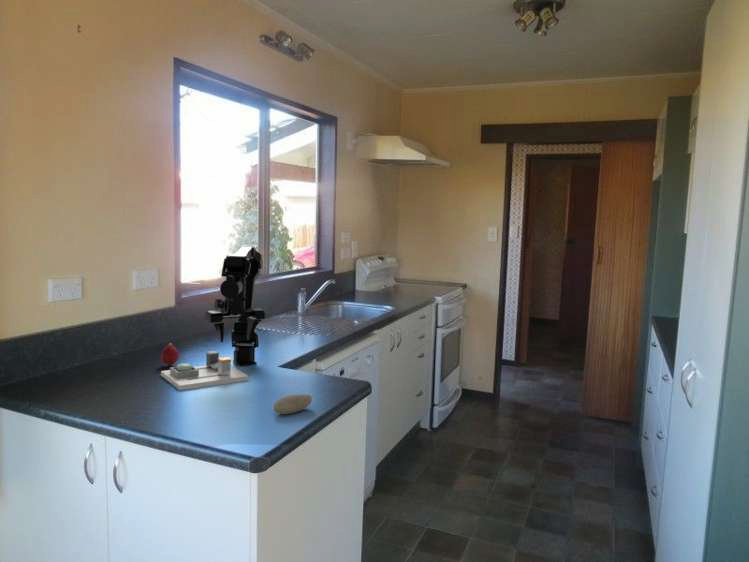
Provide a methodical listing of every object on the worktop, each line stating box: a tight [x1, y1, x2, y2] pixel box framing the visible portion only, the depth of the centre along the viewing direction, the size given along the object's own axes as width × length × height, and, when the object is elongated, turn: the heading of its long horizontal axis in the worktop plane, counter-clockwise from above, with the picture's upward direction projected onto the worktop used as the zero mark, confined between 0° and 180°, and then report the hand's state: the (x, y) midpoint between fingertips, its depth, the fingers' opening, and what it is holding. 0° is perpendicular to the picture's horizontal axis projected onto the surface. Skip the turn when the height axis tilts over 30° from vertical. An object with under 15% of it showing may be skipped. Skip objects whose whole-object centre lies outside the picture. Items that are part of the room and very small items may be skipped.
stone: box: [273, 393, 313, 415], centre depth 156 cm, size 6×6×12 cm
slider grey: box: [205, 350, 220, 368], centre depth 191 cm, size 3×3×5 cm
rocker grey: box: [210, 362, 218, 369], centre depth 189 cm, size 5×4×1 cm
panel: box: [160, 365, 249, 391], centre depth 184 cm, size 22×18×4 cm
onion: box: [160, 342, 180, 367], centre depth 196 cm, size 6×6×8 cm
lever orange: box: [218, 356, 232, 376], centre depth 184 cm, size 3×3×5 cm
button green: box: [176, 363, 193, 372], centre depth 181 cm, size 4×4×2 cm
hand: (235, 341), depth 185 cm, fingers open, 9 cm apart
